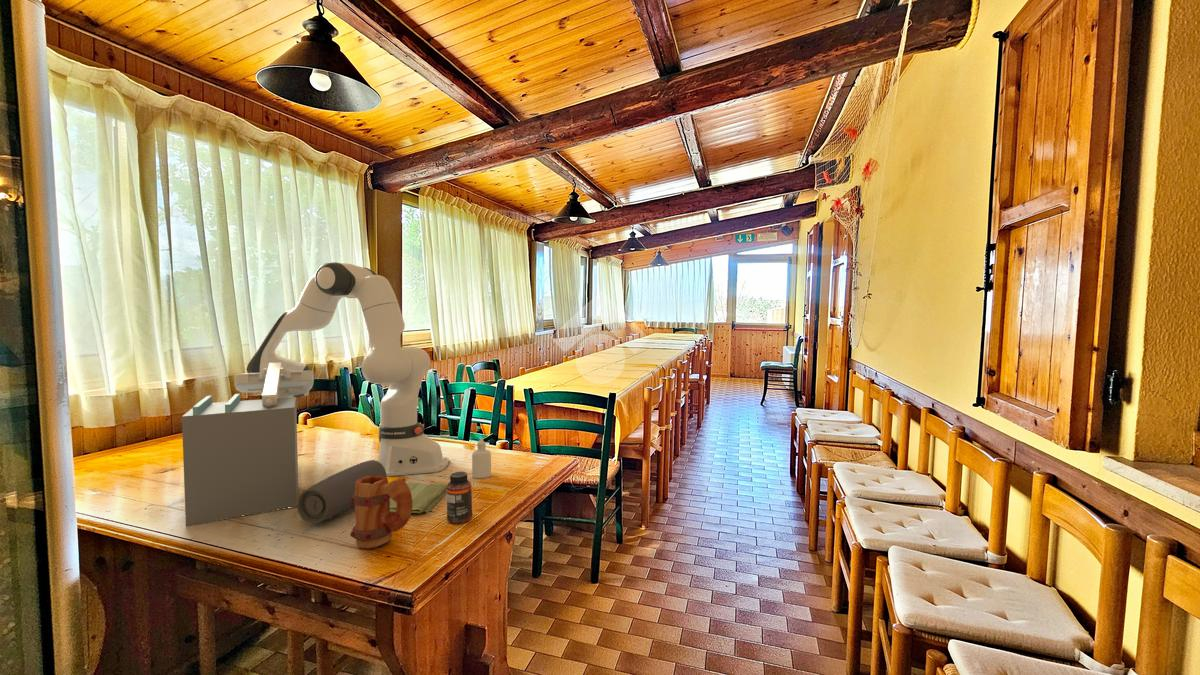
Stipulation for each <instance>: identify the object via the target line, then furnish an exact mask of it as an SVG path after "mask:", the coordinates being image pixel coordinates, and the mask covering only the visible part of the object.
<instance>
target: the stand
mask: <svg viewBox="0 0 1200 675" xmlns="http://www.w3.org/2000/svg"><path fill="white" fill-rule="evenodd" d="M297 413H298V412H297V398H296V397H289V398H277V405H272V406H271V407H266V406H262V398H260V399H250V400H249V399H248V400H241V393H235V394H233V395H232V397H231V398H230V399H229V400H228V401H222V402H219V401H218V402H213V395H206V396H205V397H204V398H203V399H201V400H200V401H198V402H197V403H196V404H195V405H194V406H193V407H192V408H190V410H188V411H187V412H185V413H184V414H183V415H181V425H182V426H181V430H182V431H181V432H182V434H181V435H182V456H183V458H182V460H183V461H182V462H183V486H184V487H183V488H184V507H185V508H184V510H185V527H188V526H195V525H200V523H201V524H206V522H207V523H212V522H211V521H213V522H217V521H216V520H219V521H222V520H221V519H225V520H227V519H226V518H230V519H233V518H232V517H236V518H238V517H237V516H242V515H248V516H251V515H250V514H254V515H259V514H258V513H260V514H263V513H262V512H266V513H268V512H267V511H271V512H273V511H272V510H277V509H283V508H288V507H295V508H297V507H296V506H297V502H298V496H297V495H299V461H298V455H299V454H298V424H297V423H298V422H297V421H298V420H297V418H298V417H297ZM283 510H284V509H283ZM277 511H278V510H277ZM242 517H243V516H242Z"/></svg>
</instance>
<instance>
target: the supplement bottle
mask: <svg viewBox="0 0 1200 675" xmlns="http://www.w3.org/2000/svg"><path fill="white" fill-rule="evenodd" d="M449 480H450V481H449V482H448V483H446V485H447V487H446V493H445V494H446V495H445V497H446V521H448V523H451V524H464V523H466V522H469V521H470V520H471V519H472V517H473V494H472V492H473V491H472V486H473V485H472V483H471V481H470V480H468V472H466V471H463V470H462V471H455V472H452V473H451V474H450V475H449Z"/></svg>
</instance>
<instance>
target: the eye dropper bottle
mask: <svg viewBox="0 0 1200 675" xmlns="http://www.w3.org/2000/svg"><path fill="white" fill-rule="evenodd" d="M471 461H472V462H471V467H472V468H471V470H472V472H471V473H472V478H473V479H486V478H491V476H492V453H491V450H488V449H486V442H485V441H484V439H483V437H480V438H479V441H478V442H477V449H476V450H474V451H473V452H472V454H471Z"/></svg>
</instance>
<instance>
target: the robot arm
mask: <svg viewBox="0 0 1200 675" xmlns="http://www.w3.org/2000/svg"><path fill="white" fill-rule="evenodd" d="M303 288H304V289H303V290H302V292H301V294H300V295H299V296H300V297H299V299H298V302H297V303H296V305H295V306H294V307H293V308H292V309H291V310H285V311H284V312H282V313H281V314H280V315H279V317H278V318H277V319H276V320H275V322H274V324H273V325H272V327H271V329H270V330H269V331H268V334H267V335H266V336H265V338H264V339H263V341H262V343H261V344H260V346H259V347H258V348H257V351H256V352H255V353H254V355H253V356H252V357H251V358H250V359H249V361H248V363H247V366H246V373H245V372H244V373H237V374H235V375H234V383H233V384H234V388H235V391H239V392H240V393H243V394H247V393H249V394H250V393H260V395H261V396H262V393H263V389H264V384H265V380H266V375H267V371H268V367H269V363H278V362H281V368H280V375H281V378H280V385H279V391H278V398H289V397H296V399H297V398H303V397H306V396H309V395H310V394H309V393H310V390H311V389H313V386H314V383H315V382H314V381H315V380H314V379H315V377H314V371H313V370H311V368H310V367H309V364H306V363H303V362H300V361H297V360H293V359H290V358H286V357H283V356H281V355H278V354H276V352H275V351H276V350H277V348H278V346H279V345H280V344H281V341H282V340H283V338H284V337H285V335H286V334H287V333H290V332H312V331H313V332H314V331H318V330H321V329H324V328H326V327H327V326H329V325H330V323H331V321H332V319H333V317H334V315H335V313H336V310H337V306H338V304H339V302H340V300H341V299H342V298H347V299H357V300H358V301H359V304H360V308H361V311H362V314H363V317H364V321H365V325H366V329H367V332H368V350H367V354H366V355H365V357H364V358H363V360H362V361H361V374H362V375H363V377H364V379H365V381H367V382H369V383H371V384H373V385H374V384H377V385H389V386H388V389H387V391H386V393H385V394H384V396H383V397H382V398H381V401H380V405H379V408H380V409H379V410H380V411H379V412H380V417H379V418H380V421H379V423H380V425H379V426H378V427H379V428H378V440H379V442H378V443H379V452H378V457H377V461H378V462H380V463H381V464H382V465H383V467H384V468H385V471H386V475H387V477H396V476H405V475H407V476H408V475H417V474H418V475H419V474H429V473H430V474H431V473H438V472H441V471H443V470H445V469H446V468H448V466H449V464H450V460H449V459H450V458H449V457H448V456H443V451H442V449H441V445H440V444H439V442H437V441H435V440H433V439H432V438H430V437H429V436H428V435H426V434H425V433H424V430H425V429H424V428H425V423H423V424H421V423H420V422H418V400H419V394H420V393H419V392H420V388H421V386H422V382H423V380H424V377H425V376H426V374H427V373H428V372H429V370H430V368H431V365H432V364H431V357H430V355H429V354H428V352H427V351H426V350H424V349H422V348H419V347H413V346H406V347H402V346H401V345H402V344H401V335H402V333H403V332H404V330H405V328H406V325H405V321H404V318H403V315H402V312H401V308H400V304H399V301H398V298H397V296H396V293H395V291H394V289H393V287H392V285H391V283H390V282H389V279H387V278H386V277H385V276H383V275H379V274H378V273H377V272H375V271H374V270H372V269H371V268H367V267H363V266H359V265H356V264H353V263H342V262H341V263H340V262H336V261H335V262H333V261H332V262H326V263H323V264H321V265H319V267H318V268H317V270H316V271H315V274H313V275H312V276H311V277H310V278H309V280H308V281H307V282H306V284H305V286H304V287H303Z"/></svg>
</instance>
